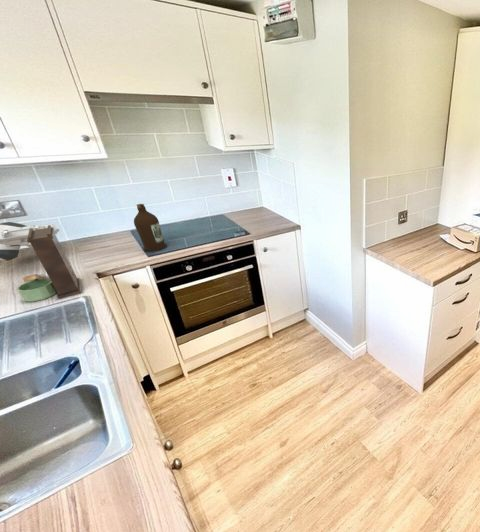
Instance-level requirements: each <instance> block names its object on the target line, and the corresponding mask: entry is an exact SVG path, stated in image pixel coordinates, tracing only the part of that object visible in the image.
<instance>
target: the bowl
mask: <svg viewBox="0 0 480 532" xmlns="http://www.w3.org/2000/svg"><path fill="white" fill-rule="evenodd" d="M16 291H17V293H18V294H19V296H20V298H21V299H22V301H24V302H38V301H44V300H47V299H49V298H51V297H53V296H55V295H56V294H58V292H57V290H56V289H55V287H54V285H53V283H52V281H51V280H50V278H49V277H45V278H43V279H37V280H32V281H28V282H23V283H22V284H20V285H19V286H17V287H16Z"/></svg>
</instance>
